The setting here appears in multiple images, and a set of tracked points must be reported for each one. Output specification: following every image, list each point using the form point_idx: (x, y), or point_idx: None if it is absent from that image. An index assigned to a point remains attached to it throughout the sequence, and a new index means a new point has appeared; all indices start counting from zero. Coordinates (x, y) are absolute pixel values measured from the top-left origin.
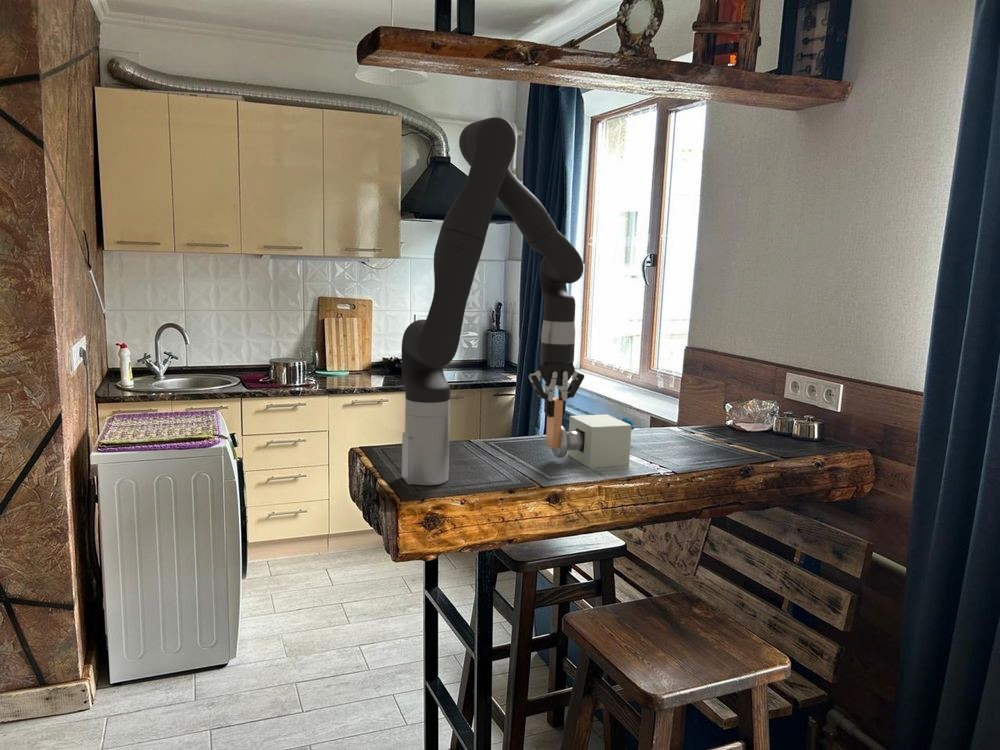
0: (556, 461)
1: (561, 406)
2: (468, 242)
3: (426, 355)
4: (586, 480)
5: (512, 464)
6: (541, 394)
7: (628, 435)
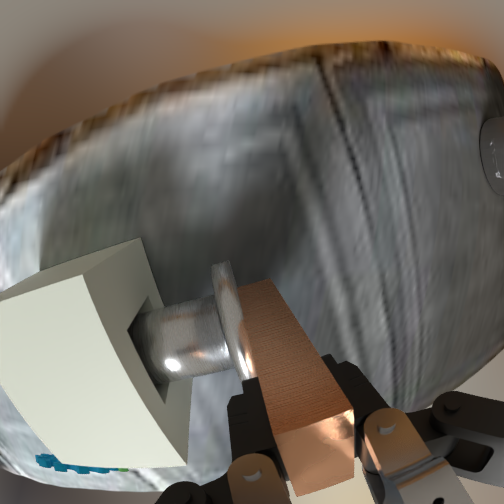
0: None
1: (274, 397)
2: None
3: None
4: (178, 106)
5: (368, 266)
6: (471, 404)
7: None
